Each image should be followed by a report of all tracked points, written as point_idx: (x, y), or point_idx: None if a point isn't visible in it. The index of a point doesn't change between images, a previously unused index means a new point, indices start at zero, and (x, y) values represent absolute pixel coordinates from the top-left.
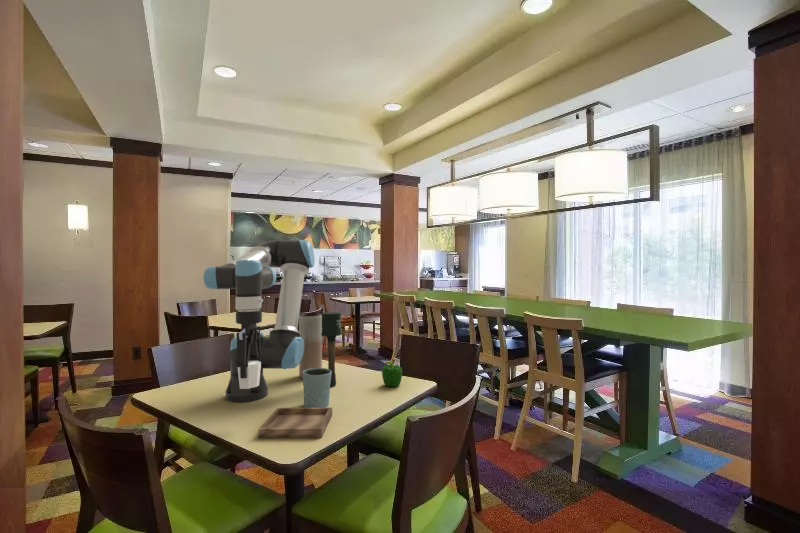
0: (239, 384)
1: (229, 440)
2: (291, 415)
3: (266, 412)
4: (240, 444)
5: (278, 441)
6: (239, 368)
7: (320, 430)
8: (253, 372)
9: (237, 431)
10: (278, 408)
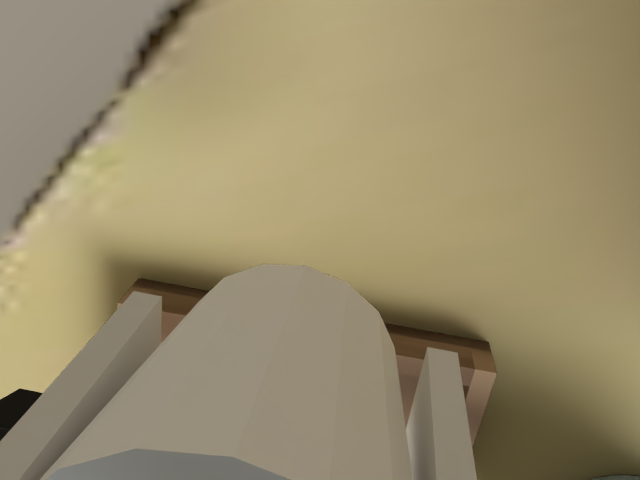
0: (250, 276)
1: (108, 127)
2: None
3: (578, 270)
4: (58, 201)
5: None
6: (75, 445)
7: None
8: None
9: (244, 143)
10: (478, 379)
